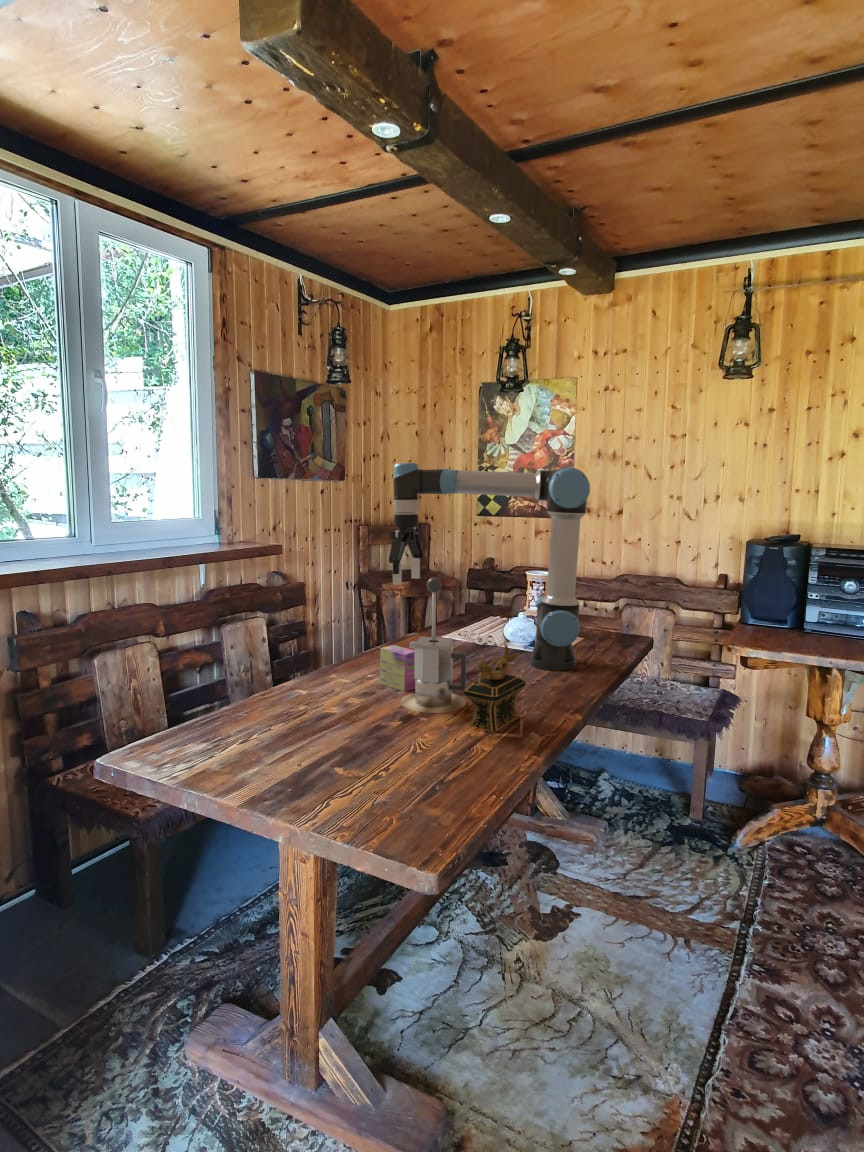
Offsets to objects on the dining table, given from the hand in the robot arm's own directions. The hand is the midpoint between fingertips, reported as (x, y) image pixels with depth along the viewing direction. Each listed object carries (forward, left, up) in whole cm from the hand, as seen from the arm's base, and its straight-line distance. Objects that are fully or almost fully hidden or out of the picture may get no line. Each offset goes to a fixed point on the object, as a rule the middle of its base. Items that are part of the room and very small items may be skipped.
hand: (406, 581), depth 219 cm
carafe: (-14, +30, -28) cm, 43 cm away
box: (-1, +17, -29) cm, 34 cm away
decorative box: (-31, +41, -29) cm, 59 cm away
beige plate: (-13, +30, -29) cm, 44 cm away
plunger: (-13, +30, -11) cm, 34 cm away
